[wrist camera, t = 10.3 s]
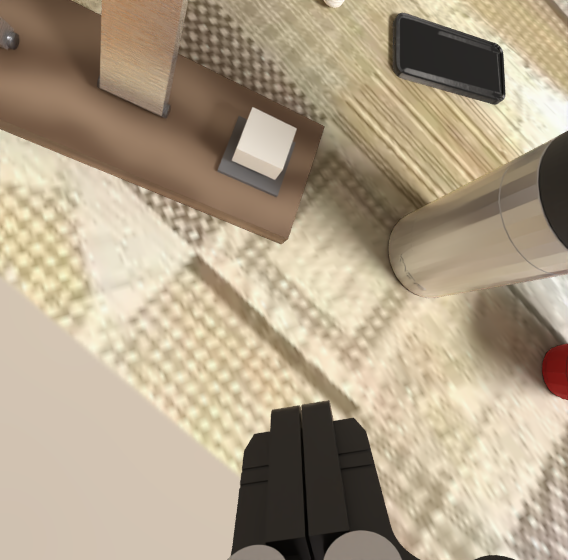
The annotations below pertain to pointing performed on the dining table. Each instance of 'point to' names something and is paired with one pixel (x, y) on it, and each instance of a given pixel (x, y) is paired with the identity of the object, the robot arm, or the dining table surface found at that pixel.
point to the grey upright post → (8, 36)
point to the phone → (447, 59)
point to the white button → (264, 144)
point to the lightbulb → (334, 3)
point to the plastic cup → (556, 370)
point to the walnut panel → (146, 122)
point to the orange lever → (141, 50)
